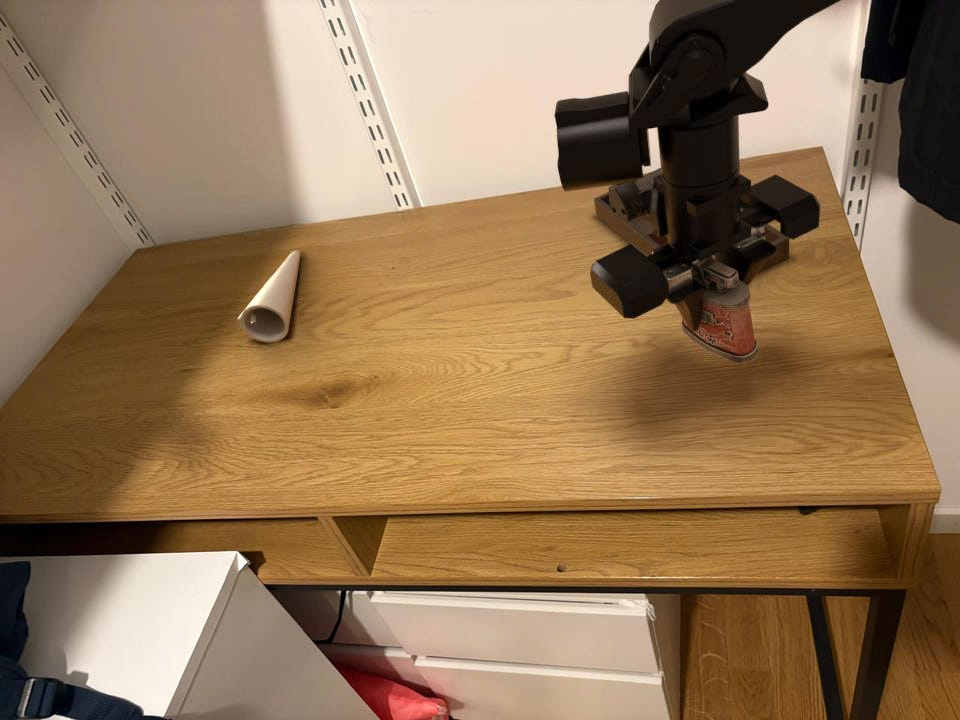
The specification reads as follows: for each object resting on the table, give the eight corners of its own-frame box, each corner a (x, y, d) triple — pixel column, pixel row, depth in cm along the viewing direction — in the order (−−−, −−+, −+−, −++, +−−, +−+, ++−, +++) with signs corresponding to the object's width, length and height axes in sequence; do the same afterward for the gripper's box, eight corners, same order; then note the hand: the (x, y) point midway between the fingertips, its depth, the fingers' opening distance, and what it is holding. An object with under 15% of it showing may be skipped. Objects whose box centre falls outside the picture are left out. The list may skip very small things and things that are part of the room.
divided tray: (672, 182, 99) (670, 162, 97) (789, 258, 83) (789, 237, 81) (596, 217, 98) (593, 198, 96) (700, 302, 81) (699, 282, 79)
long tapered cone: (339, 259, 109) (296, 337, 94) (301, 269, 111) (254, 347, 96) (320, 225, 106) (273, 300, 91) (283, 236, 108) (231, 311, 93)
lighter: (674, 331, 71) (653, 253, 64) (699, 310, 72) (681, 230, 65) (741, 370, 65) (725, 288, 58) (767, 346, 66) (755, 263, 59)
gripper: (735, 89, 64) (738, 238, 74) (544, 177, 61) (575, 319, 71) (830, 132, 55) (819, 293, 66) (614, 235, 53) (637, 386, 63)
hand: (708, 320), depth 67 cm, fingers closed on lighter, 3 cm apart
